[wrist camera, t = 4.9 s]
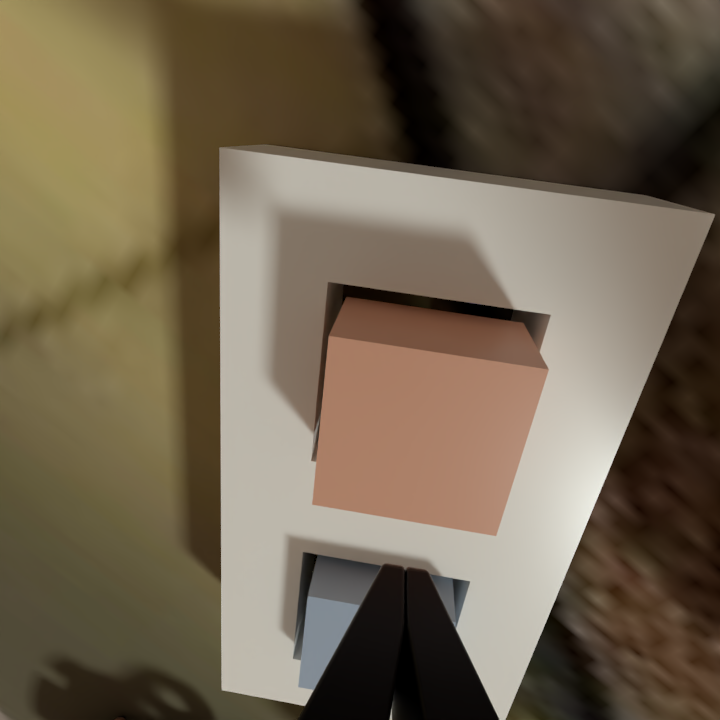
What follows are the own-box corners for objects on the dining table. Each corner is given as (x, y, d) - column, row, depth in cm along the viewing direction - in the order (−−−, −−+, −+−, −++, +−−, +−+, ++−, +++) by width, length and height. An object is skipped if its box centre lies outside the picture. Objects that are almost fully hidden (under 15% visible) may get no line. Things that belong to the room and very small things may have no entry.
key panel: (645, 195, 15) (715, 214, 12) (484, 653, 25) (495, 742, 21) (265, 144, 16) (219, 147, 12) (250, 610, 25) (221, 689, 22)
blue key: (450, 552, 19) (455, 622, 16) (427, 637, 21) (429, 712, 18) (323, 530, 19) (307, 596, 17) (313, 616, 21) (298, 686, 19)
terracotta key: (523, 323, 14) (548, 369, 11) (483, 467, 16) (496, 536, 13) (346, 296, 14) (328, 335, 11) (330, 442, 16) (311, 504, 13)
